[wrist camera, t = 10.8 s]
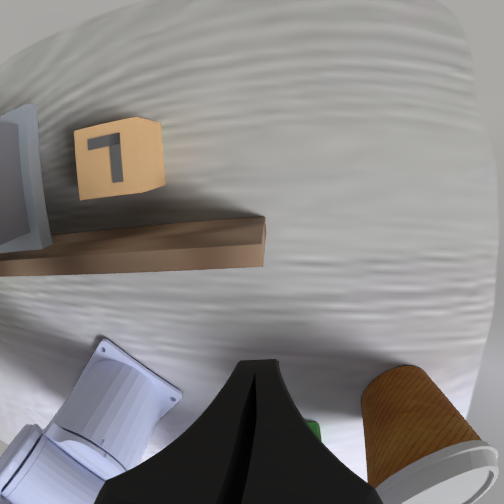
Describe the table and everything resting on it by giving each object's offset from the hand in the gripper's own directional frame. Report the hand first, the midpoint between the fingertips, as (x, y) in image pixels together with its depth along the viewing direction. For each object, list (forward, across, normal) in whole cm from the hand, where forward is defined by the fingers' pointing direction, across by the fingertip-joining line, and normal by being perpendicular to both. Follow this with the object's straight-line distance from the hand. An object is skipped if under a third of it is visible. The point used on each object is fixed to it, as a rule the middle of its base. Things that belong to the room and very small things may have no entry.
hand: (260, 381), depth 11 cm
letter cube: (+10, +8, -8) cm, 16 cm away
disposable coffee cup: (+11, -10, +12) cm, 19 cm away
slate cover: (+5, +15, -9) cm, 18 cm away
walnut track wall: (+10, +10, -4) cm, 15 cm away
